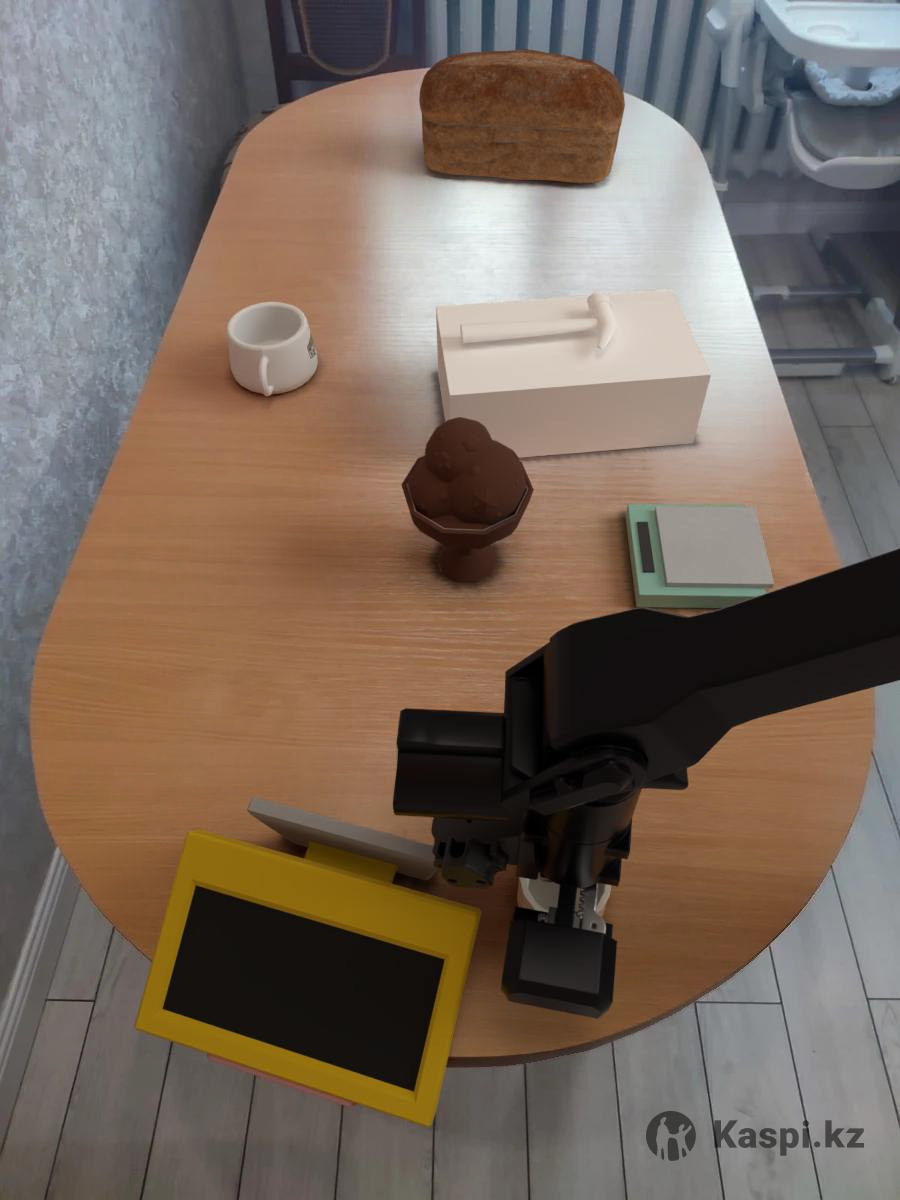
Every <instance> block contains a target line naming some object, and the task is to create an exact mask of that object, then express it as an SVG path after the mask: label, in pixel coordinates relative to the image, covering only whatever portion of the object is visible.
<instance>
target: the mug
mask: <svg viewBox="0 0 900 1200" xmlns="http://www.w3.org/2000/svg"><path fill="white" fill-rule="evenodd" d="M226 340H227V347H228V356H229V365H230V370H231V373H232V376H233V379H234V380H235V381H236V383H238V384H239V385H240V386H241V387H243V388H244V389H246V390H249V391H250V392H253V393H257V394H261V395H263V396H264V397H269V396H271V395H277V394H284V393H287V392H292V391H294V390H296V389H298V388H301V387H302V386H303V385H304V384H307V382H309V381H310V380H311V378H312V377H313V375H314V374H315V373H316V372H317V368H318V365H319V361H318V352H317V348H316V345H315V342H314V339H313V335H312V332H311V329H310V325H309V322H308V319H307V318H306V315H305V313H304V311H302V310H301V309H300V308H299V307H298V306H294V305H292V304H290V303H286V302H282V301H266V302H265V301H264V302H259V303H255V304H251V305H248V306H246V307H244V308H242V309H240V310H238V311H237V312H235V313H234V314H233V316H232V317H231V318H230V319H229V320H228V322H227V325H226Z"/></svg>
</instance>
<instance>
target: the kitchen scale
mask: <svg viewBox="0 0 900 1200" xmlns="http://www.w3.org/2000/svg"><path fill="white" fill-rule="evenodd" d="M624 516H625V517H624V518H625V526H626V533H627V542H628V551H629V558H630V567H631V574H632V583H633V591H634V592H633V593H634V599H635V608H639V607H647V608H673V609H674V608H675V609H677V608H679V609H722V608H725V607H728V606H731V605H733V604H736V603H739V602H742V601H745V600H748V599H751V598H754V597H757V596H760V595H763V594H766V593H767V589H773V588H774V586H775V582H774V577H773V574H772V570H771V565H770V561H769V558H768V554H767V553H768V552H767V549H766V545H765V542H764V538H763V534H762V529H761V525H760V521H759V518H758V512H757V509H756V507H749V506H747V507H746V505H745V504H687V503H686V504H684V503H683V504H682V503H676V504H675V503H671V504H669V503H668V504H667V503H665V504H664V503H628V504H627V505H626V511H625V515H624Z"/></svg>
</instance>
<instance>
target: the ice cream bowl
mask: <svg viewBox="0 0 900 1200" xmlns="http://www.w3.org/2000/svg"><path fill="white" fill-rule="evenodd" d="M400 485H401V488H402V491H403V495H404V498H405V502H406V505H407V507H408V511H409V514H410V518H411V520H412V522H413V524H414V526H415V527H416V529H418V531H419V532H420V533H422V534H423V535H426V536H427V537H429V538H430V539H432V540H433V541H434V542H437V543H438V544H439V545H442V546H443V547H442V549H441V551H440V553H439V555H438V556H437V562H438V567H439V569H440V572H441V574H443V575H444V576H446V577H447V578H449V579H450V580H452V581H453V582H455V583H464V584H465V583H466V584H467V583H468V584H476V583H479V582H481V581H482V580H485V579H486V578H488V577H490V576H492V574H493V572H494V570H495V568H496V566H497V564H498V559H497V556H496V554H495V553H496V552H495V551H494V548H493V545H494V544H495V543H497V542H499V541H502V540H504V539H506V538H507V537H510V536H511V535H512V534H513V533H514V532H515V531H516V529H518V526H519V524H520V522H521V520H522V518H523V516H524V514H525V512H526V510H527V508H528V506H529V504H530V501H531V499H532V496H533V494H534V487H533V485H532V483H531V480H530V478H529V476H528V473H527V471H526V469H525V466H524V464H523V462H522V461H521V460H520V458H518V456H517V455H516V453H515V452H514V451H513V450H512V449H510V448H508V447H507V446H505V445H503V444H501V443H499V442H498V441H495V440H492V438H491V436H490V434H489V432H488V431H487V429H486V427H485V426H484V425H482V424H481V423H480V422H478V421H475V420H471V419H467V418H462V417H458V418H454V419H450V420H447V421H445V420H444V422H442V423H441V424H439V425H438V426H436V428H435V429H434V431H433V432H432V434H431V436H430V437H429V439H428V440H427V442H426V444H425V450H424V455H423V456H420V457H417V459H416V460H415V461H414V463H413V465H412V466H411V468H410V470H409V471H408V472H407V475H406V476H405V477H404V479H403V481H402V483H401V484H400Z"/></svg>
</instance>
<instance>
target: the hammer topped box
mask: <svg viewBox="0 0 900 1200" xmlns="http://www.w3.org/2000/svg"><path fill="white" fill-rule="evenodd" d="M435 316H436V317H435V321H436V324H435V325H436V349H437V350H436V353H437V376H438V383H439V389H440V397H441V404H442V410H443V416H444V422H445V421H447V420H450V419H454V418H458V417H462V418H467V419H471V420H475V421H478V422H480V423H481V424H482V425H484V426H485V427H486V429H487V431H488V432H489V434H490V436H491V438H492V440H495V441H498V442H499V443H501V444H503V445H505V446H507V447H508V448H510V449H512V450H513V451H514V452H515V453H516V455H517V456H518V458H519V459H521V458H532V457H544V456H545V457H547V456H556V455H557V456H558V455H567V454H568V455H569V454H580V453H591V452H605V451H606V452H607V451H616V450H629V449H641V448H654V447H665V446H676V445H677V446H678V445H690V444H691V445H692V444H694V441H695V438H696V433H697V430H698V427H699V423H700V419H701V415H702V411H703V407H704V404H705V400H706V395H707V391H708V389H709V384H710V381H711V377H712V374H711V372H710V369H709V367H708V365H707V363H706V361H705V358H704V355H703V353H702V351H701V350H700V349H701V348H700V347H699V346H698V343H697V341H696V338H695V336H694V335H693V332H692V329H691V327H690V325H689V322H688V321H687V318H686V317H685V314H684V312H683V309H682V307H681V305H680V303H679V301H678V299H677V296H676V294H675V292H674V290H673V289H672V288H669V289H657V290H655V289H654V290H642V291H631V292H630V291H629V292H615V293H606V292H603V291H595V292H593V293H591V294H588V295H575V296H559V297H547V298H534V299H521V300H520V299H519V300H505V301H493V302H480V303H465V304H452V305H442V306H441V305H439V306H438V305H437V306H435Z"/></svg>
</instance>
